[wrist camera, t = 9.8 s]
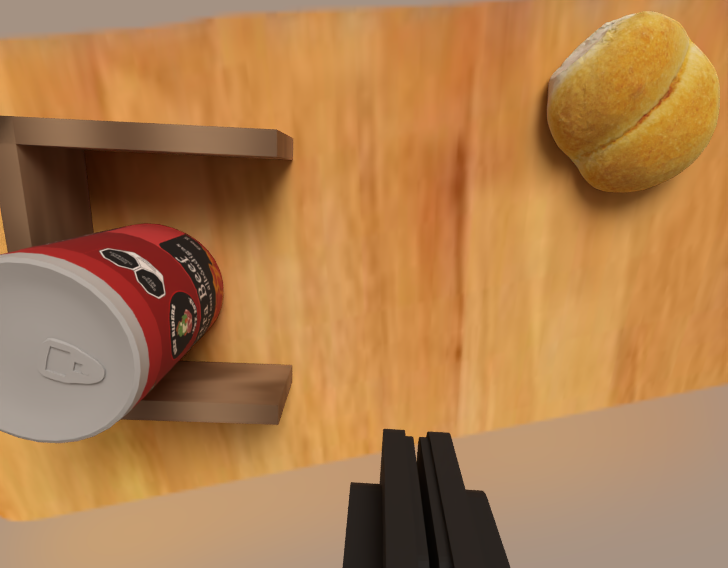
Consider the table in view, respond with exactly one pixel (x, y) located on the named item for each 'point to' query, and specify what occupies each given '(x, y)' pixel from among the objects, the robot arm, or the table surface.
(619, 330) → the table surface
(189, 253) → the canned food
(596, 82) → the bread roll
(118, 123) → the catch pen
